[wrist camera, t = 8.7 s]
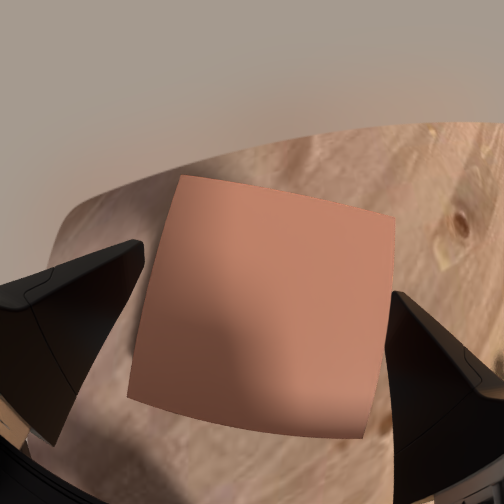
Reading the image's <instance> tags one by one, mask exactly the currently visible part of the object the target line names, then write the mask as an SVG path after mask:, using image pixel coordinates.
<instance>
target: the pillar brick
mask: <svg viewBox="0 0 504 504" xmlns="http://www.w3.org/2000/svg"><path fill="white" fill-rule="evenodd" d="M394 249H395V217H391V216H387V215H384V214H380V213H376V212H372V211H368V210H364V209H360V208H356V207H352V206H348V205H344V204H340V203H335V202H331V201H327V200H322V199H318V198H313V197H309V196H304V195H299V194H294V193H289V192H284V191H279V190H274V189H269V188H264V187H258V186H253V185H247V184H241V183H235V182H229V181H223V180H217V179H210V178H204V177H197V176H190V175H182V174H181V176H180V179H179V182H178V185H177V188H176V191H175V194H174V197H173V200H172V203H171V206H170V209H169V213H168V216H167V219H166V222H165V226H164V229H163V232H162V236H161V239H160V243H159V246H158V250H157V253H156V257H155V261H154V264H153V268H152V272H151V276H150V280H149V284H148V288H147V292H146V297H145V301H144V305H143V310H142V314H141V319H140V324H139V329H138V333H137V339H136V344H135V349H134V355H133V360H132V366H131V372H130V379H129V385H128V392H127V397H128V398H130V399H133V400H136V401H139V402H141V403H144V404H147V405H150V406H153V407H156V408H159V409H163V410H166V411H169V412H173V413H176V414H180V415H183V416H187V417H191V418H194V419H198V420H202V421H207V422H211V423H215V424H220V425H225V426H230V427H235V428H240V429H246V430H252V431H258V432H265V433H272V434H281V435H290V436H300V437H313V438H334V439H363V436H364V432H365V429H366V425H367V422H368V418H369V415H370V411H371V407H372V403H373V399H374V395H375V391H376V386H377V382H378V377H379V372H380V367H381V362H382V357H383V351H384V345H385V339H386V333H387V326H388V319H389V311H390V302H391V292H392V281H393V268H394Z"/></svg>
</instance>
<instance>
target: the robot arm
mask: <svg viewBox="0 0 504 504" xmlns="http://www.w3.org/2000/svg"><path fill="white" fill-rule="evenodd" d="M144 264H145V257H144V244H143V242H142V241H139V240H134V239H132V240H129V241H126V242H123V243H120V244H117V245H114V246H111V247H108V248H105V249H102V250H99V251H96V252H93V253H90V254H88V255H85V256H82V257H79V258H76V259H74V260H71V261H68V262H66V263H63V264H60V265H57V266H55V268H54V267H52V268H49V269H47V270H44V271H41V272H39V273H36V274H33V275H30V276H27V277H25V278H21V279H19V280H15V281H12V282H9V283H6V284H3V285H0V504H109V503H106V502H104V501H102V500H100V499H98V498H96V497H94V496H92V495H90V494H88V493H86V492H84V491H82V490H80V489H78V488H77V487H75V486H73V485H71V484H70V483H68V482H66V481H64V480H63V479H61V478H59V477H58V476H56V475H55V474H53V473H51V472H50V471H48V470H47V469H45V468H44V467H42V466H41V465H39V464H38V463H37V462H35V461H34V460H32V459H31V456H30V452H29V448H28V445H27V441H26V438H27V436H28V434H29V432H31V433H33V434H34V435H36V436H37V437H39V438H40V439H42V440H43V441H45V442H46V443H48V444H49V445H51V446H53V447H54V446H55V444H56V442H57V440H58V437H59V435H60V433H61V430H62V428H63V426H64V423H65V421H66V419H67V416H68V414H69V412H70V410H71V408H72V406H73V403H74V401H75V399H76V397H77V395H78V392H79V390H80V388H81V386H82V384H83V382H84V380H85V378H86V376H87V374H88V372H89V370H90V368H91V366H92V364H93V363H94V361H95V359H96V357H97V355H98V353H99V351H100V349H101V347H102V346H103V344H104V342H105V340H106V338H107V336H108V335H109V333H110V331H111V329H112V328H113V326H114V324H115V322H116V321H117V319H118V317H119V315H120V314H121V312H122V310H123V308H124V307H125V305H126V303H127V302H128V300H129V298H130V296H131V293H132V291H133V289H134V287H135V285H136V283H137V280H138V278H139V276H140V274H141V272H142V270H143V268H144ZM384 347H385V356H386V363H387V371H388V379H389V387H390V397H391V408H392V422H393V440H394V494H393V504H423V503H426V502H430V501H433V500H434V504H504V381H503V380H502V379H500V378H499V377H498V376H497V375H496V374H495V373H494V372H493V371H491V370H490V369H489V368H488V367H487V366H486V365H485V364H483V363H482V362H481V361H480V360H479V359H478V358H477V357H476V356H475V355H474V354H472V353H471V352H470V351H469V350H468V349H467V348H466V347H465V346H463V344H462V343H461V342H460V341H459V340H457V339H456V338H455V337H454V336H453V335H452V334H451V333H450V332H449V331H448V330H446V329H445V328H444V327H443V326H442V325H441V324H440V323H439V322H438V321H436V320H435V319H434V318H433V317H432V316H431V315H430V314H428V313H427V312H426V311H425V310H424V309H423V308H421V307H420V306H419V305H418V304H417V303H416V302H414V301H413V300H412V299H411V298H410V297H409V296H407V295H406V294H405V293H404V292H400V291H393V292H392V293H391V302H390V311H389V319H388V326H387V333H386V339H385V345H384Z"/></svg>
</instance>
